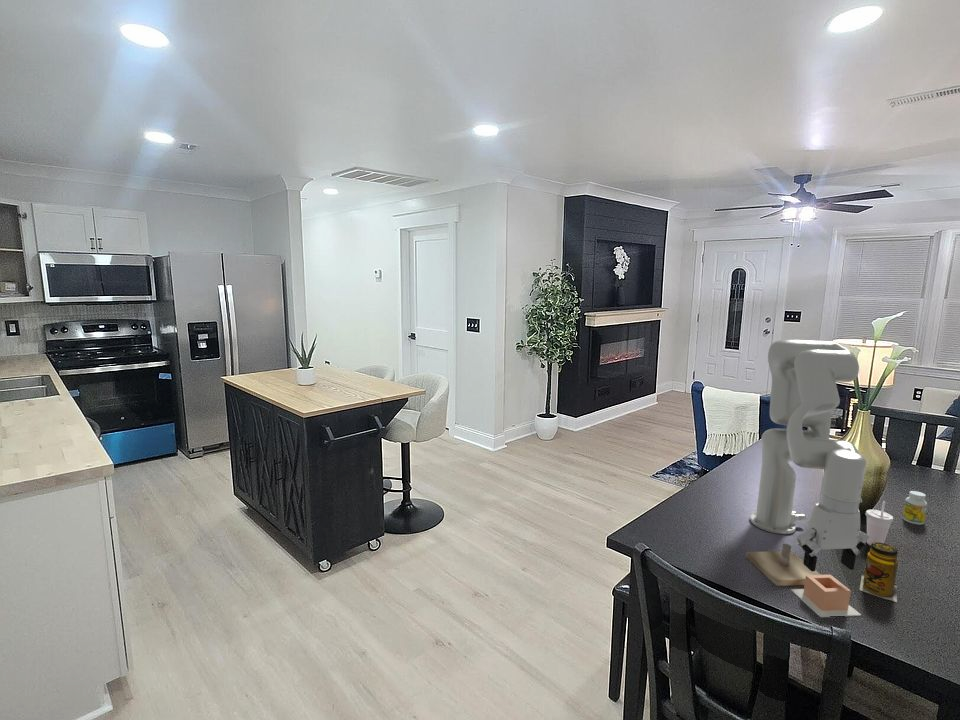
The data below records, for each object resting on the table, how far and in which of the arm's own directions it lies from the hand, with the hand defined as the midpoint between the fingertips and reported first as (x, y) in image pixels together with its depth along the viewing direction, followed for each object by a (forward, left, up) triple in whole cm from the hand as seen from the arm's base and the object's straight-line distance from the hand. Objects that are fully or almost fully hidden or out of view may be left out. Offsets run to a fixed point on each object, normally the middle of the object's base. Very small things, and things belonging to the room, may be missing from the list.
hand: (828, 567), depth 120 cm
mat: (0, +1, -9) cm, 9 cm away
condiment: (-18, -4, -9) cm, 20 cm away
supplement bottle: (-60, -37, -9) cm, 71 cm away
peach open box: (0, +1, -9) cm, 9 cm away
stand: (+1, -13, -9) cm, 16 cm away
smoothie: (-35, -24, -9) cm, 43 cm away
